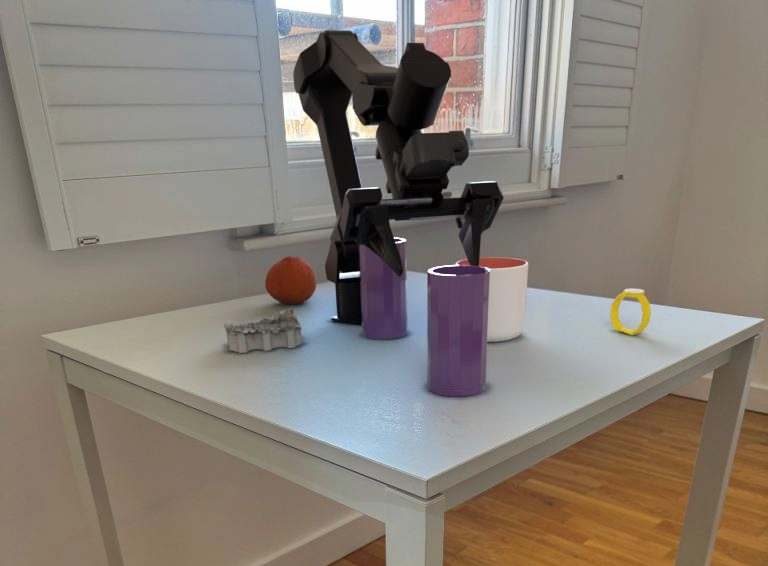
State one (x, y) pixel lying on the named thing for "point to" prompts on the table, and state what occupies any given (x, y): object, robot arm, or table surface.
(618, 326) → the watch
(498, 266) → the cup
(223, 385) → the table surface
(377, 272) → the plum cup
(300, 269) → the fruit
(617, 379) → the table surface
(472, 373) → the plum cup
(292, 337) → the egg carton
